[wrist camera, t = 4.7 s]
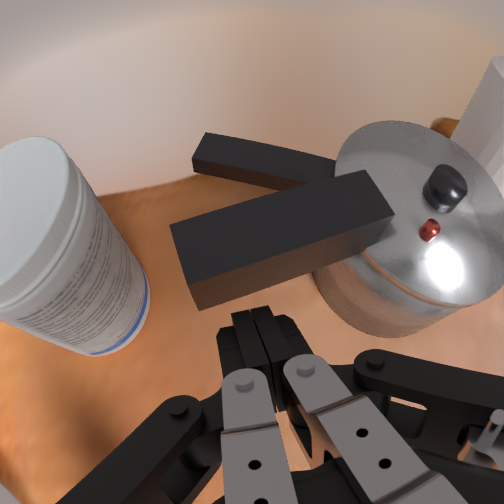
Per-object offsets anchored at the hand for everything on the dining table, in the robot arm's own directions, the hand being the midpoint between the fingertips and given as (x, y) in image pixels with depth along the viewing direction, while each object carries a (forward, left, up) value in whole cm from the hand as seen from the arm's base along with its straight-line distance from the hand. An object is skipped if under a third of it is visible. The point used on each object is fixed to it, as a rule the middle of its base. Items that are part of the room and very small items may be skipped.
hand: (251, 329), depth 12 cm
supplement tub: (+9, -9, -12) cm, 18 cm away
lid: (-10, -3, -2) cm, 11 cm away
